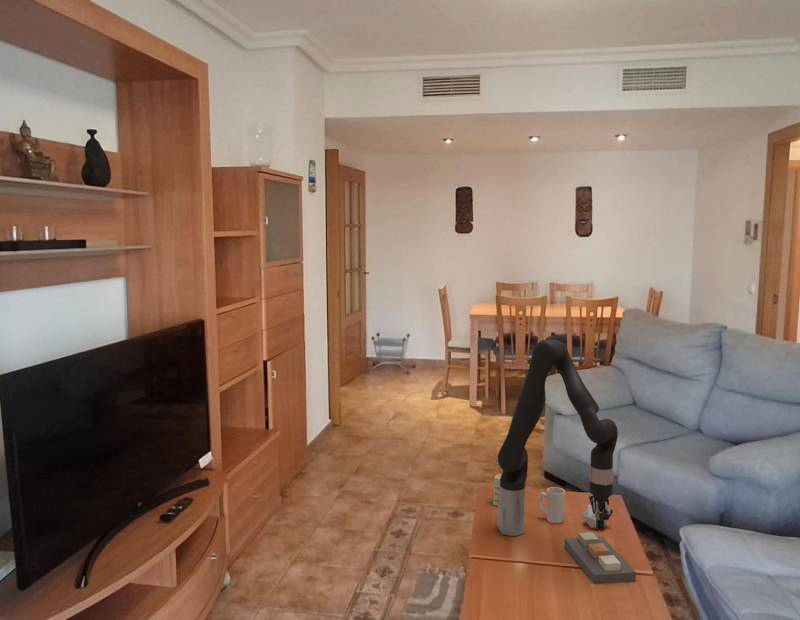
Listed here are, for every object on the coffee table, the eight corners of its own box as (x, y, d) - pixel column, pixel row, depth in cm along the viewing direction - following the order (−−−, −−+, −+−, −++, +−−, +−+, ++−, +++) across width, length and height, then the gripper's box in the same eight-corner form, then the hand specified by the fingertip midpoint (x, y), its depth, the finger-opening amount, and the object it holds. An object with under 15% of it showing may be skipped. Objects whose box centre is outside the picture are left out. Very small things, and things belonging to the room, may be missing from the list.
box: (521, 504, 251) (522, 477, 249) (517, 510, 245) (518, 482, 244) (496, 500, 255) (497, 473, 254) (492, 505, 250) (493, 477, 249)
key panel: (593, 583, 192) (593, 574, 192) (564, 546, 216) (564, 538, 215) (635, 580, 194) (636, 571, 193) (601, 544, 217) (602, 536, 217)
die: (607, 535, 226) (616, 509, 229) (586, 523, 226) (595, 498, 229) (595, 533, 234) (604, 508, 237) (575, 521, 234) (585, 497, 237)
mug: (563, 516, 239) (564, 487, 238) (565, 524, 233) (566, 494, 232) (537, 515, 241) (537, 485, 240) (538, 522, 234) (538, 492, 233)
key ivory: (605, 575, 194) (605, 563, 194) (598, 567, 199) (598, 555, 198) (620, 574, 195) (620, 562, 194) (612, 566, 200) (613, 555, 199)
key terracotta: (594, 562, 202) (594, 551, 201) (587, 555, 207) (588, 544, 206) (608, 561, 202) (609, 550, 202) (601, 554, 207) (602, 543, 207)
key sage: (584, 550, 210) (584, 539, 209) (578, 543, 215) (578, 533, 214) (598, 550, 210) (598, 539, 210) (591, 543, 215) (592, 532, 215)
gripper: (582, 472, 208) (581, 521, 210) (599, 487, 195) (598, 539, 197) (602, 471, 209) (601, 520, 211) (621, 486, 196) (620, 537, 198)
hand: (600, 529), depth 204 cm, fingers closed
